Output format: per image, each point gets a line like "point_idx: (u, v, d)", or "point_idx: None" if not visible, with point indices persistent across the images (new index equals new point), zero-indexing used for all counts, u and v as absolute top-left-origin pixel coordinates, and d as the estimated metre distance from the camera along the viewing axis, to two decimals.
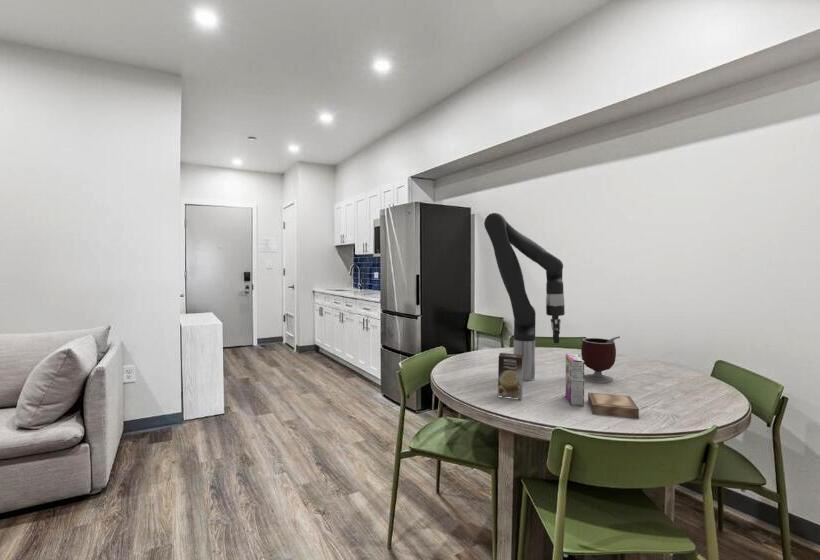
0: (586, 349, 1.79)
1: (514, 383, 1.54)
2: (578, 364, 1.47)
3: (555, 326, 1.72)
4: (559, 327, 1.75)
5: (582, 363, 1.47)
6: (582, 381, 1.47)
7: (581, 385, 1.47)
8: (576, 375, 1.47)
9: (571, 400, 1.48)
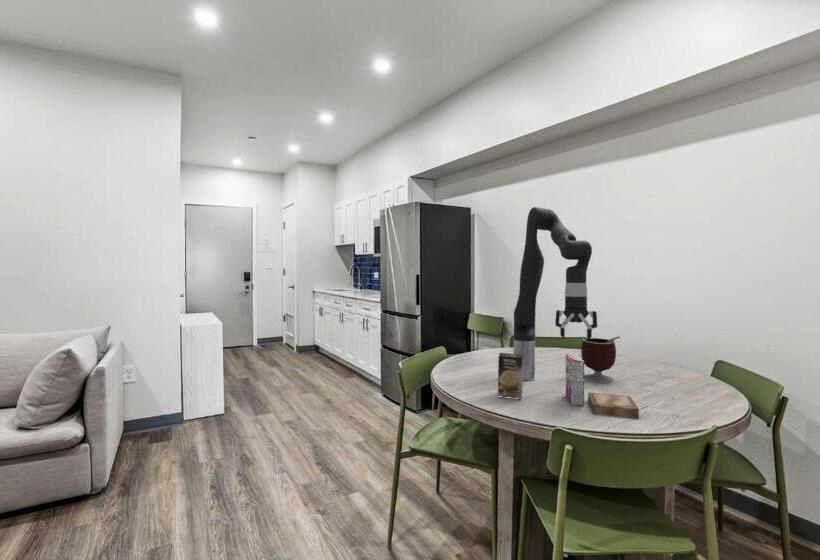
0: (586, 349, 1.79)
1: (514, 383, 1.54)
2: (578, 364, 1.47)
3: (596, 319, 1.50)
4: None
5: (582, 363, 1.47)
6: (582, 381, 1.47)
7: (581, 385, 1.47)
8: (576, 375, 1.47)
9: (571, 400, 1.48)
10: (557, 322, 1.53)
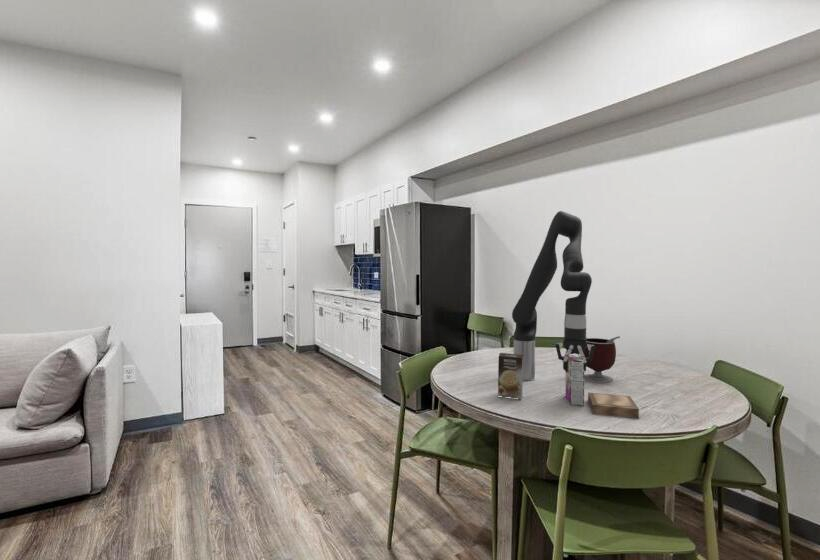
0: (586, 349, 1.79)
1: (514, 383, 1.54)
2: (578, 363, 1.47)
3: (593, 353, 1.50)
4: None
5: (582, 363, 1.47)
6: (582, 381, 1.47)
7: (581, 384, 1.47)
8: (576, 375, 1.47)
9: (571, 400, 1.48)
10: (559, 355, 1.53)
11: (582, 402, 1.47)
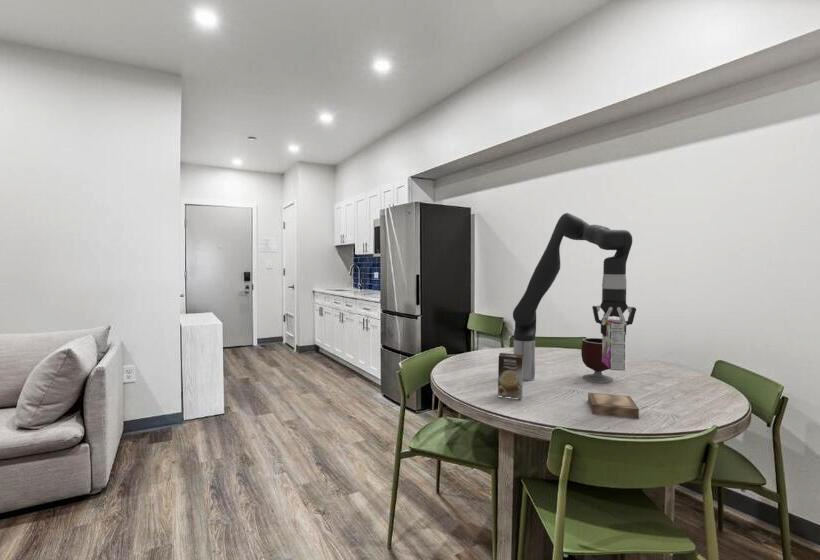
0: (586, 349, 1.79)
1: (514, 383, 1.54)
2: (618, 325, 1.38)
3: (633, 316, 1.41)
4: None
5: (623, 325, 1.38)
6: (623, 344, 1.38)
7: (621, 348, 1.38)
8: (616, 338, 1.38)
9: (611, 365, 1.39)
10: (597, 318, 1.44)
11: (623, 367, 1.38)
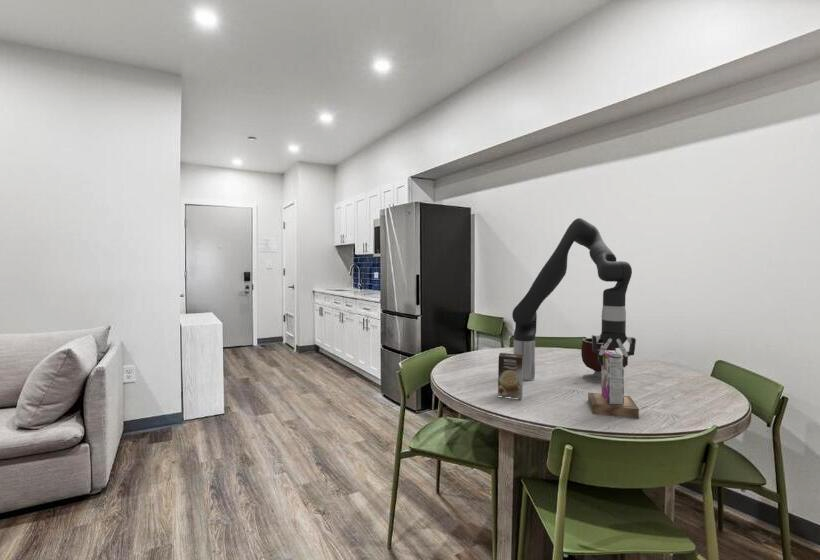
0: (586, 349, 1.79)
1: (514, 383, 1.54)
2: (616, 360, 1.38)
3: (634, 346, 1.41)
4: None
5: (621, 359, 1.38)
6: (621, 378, 1.38)
7: (620, 382, 1.39)
8: (615, 372, 1.39)
9: (610, 399, 1.40)
10: (595, 348, 1.44)
11: (622, 401, 1.39)
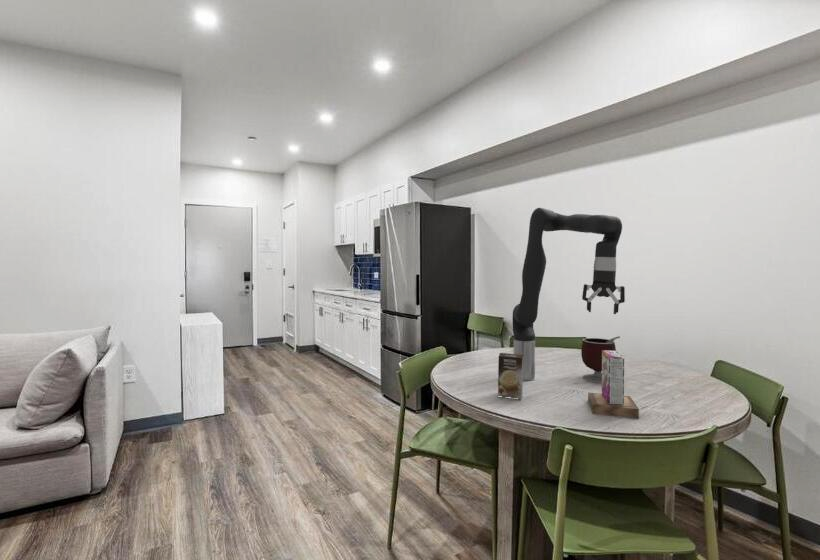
0: (586, 349, 1.79)
1: (514, 383, 1.54)
2: (617, 360, 1.38)
3: None
4: None
5: (622, 360, 1.38)
6: (622, 379, 1.38)
7: (620, 382, 1.39)
8: (615, 372, 1.39)
9: (610, 399, 1.40)
10: (584, 296, 1.55)
11: (622, 401, 1.39)
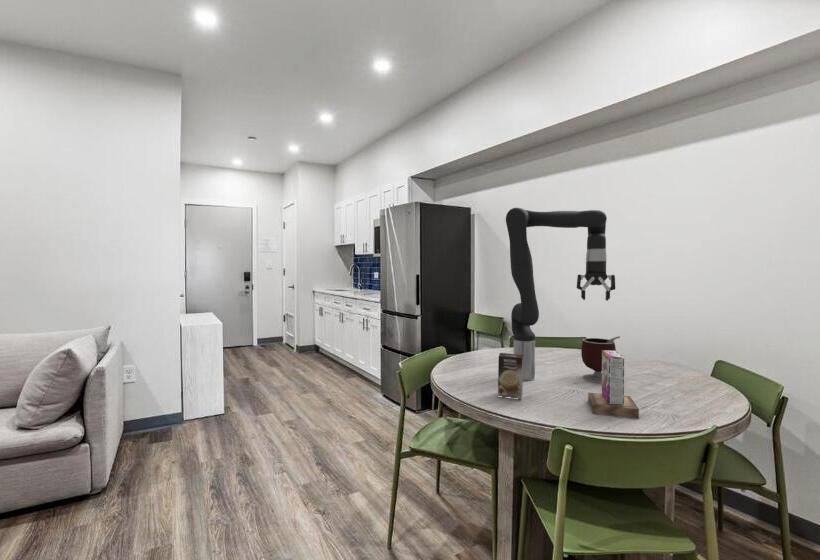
0: (586, 349, 1.79)
1: (514, 383, 1.54)
2: (617, 360, 1.38)
3: (614, 281, 1.65)
4: None
5: (622, 360, 1.38)
6: (622, 379, 1.38)
7: (620, 382, 1.39)
8: (615, 372, 1.39)
9: (610, 399, 1.40)
10: (578, 285, 1.68)
11: (622, 401, 1.39)
